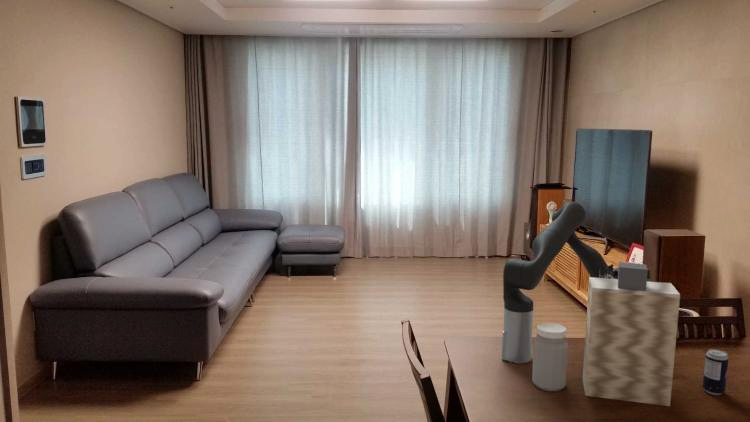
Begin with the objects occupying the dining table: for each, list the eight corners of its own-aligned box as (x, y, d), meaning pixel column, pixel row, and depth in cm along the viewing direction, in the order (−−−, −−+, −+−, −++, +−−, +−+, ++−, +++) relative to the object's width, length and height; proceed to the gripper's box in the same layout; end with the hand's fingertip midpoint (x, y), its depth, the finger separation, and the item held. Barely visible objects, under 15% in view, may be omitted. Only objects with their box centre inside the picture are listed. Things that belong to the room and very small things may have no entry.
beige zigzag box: (585, 395, 163) (592, 287, 158) (582, 378, 174) (589, 277, 169) (669, 406, 157) (680, 294, 152) (661, 388, 168) (671, 283, 163)
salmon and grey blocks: (645, 291, 155) (647, 269, 154) (618, 288, 158) (619, 267, 157) (641, 272, 174) (642, 253, 173) (616, 270, 176) (617, 251, 175)
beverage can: (727, 397, 163) (732, 357, 161) (706, 395, 164) (710, 355, 162) (720, 388, 168) (724, 349, 166) (699, 386, 169) (703, 347, 167)
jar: (524, 381, 172) (527, 324, 169) (550, 375, 176) (553, 319, 173) (546, 395, 164) (549, 335, 161) (573, 389, 167) (576, 330, 164)
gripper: (596, 269, 188) (602, 254, 173) (643, 272, 184) (653, 258, 169) (595, 291, 185) (602, 278, 170) (643, 295, 181) (654, 282, 167)
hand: (627, 268), depth 170 cm, fingers open, 8 cm apart
